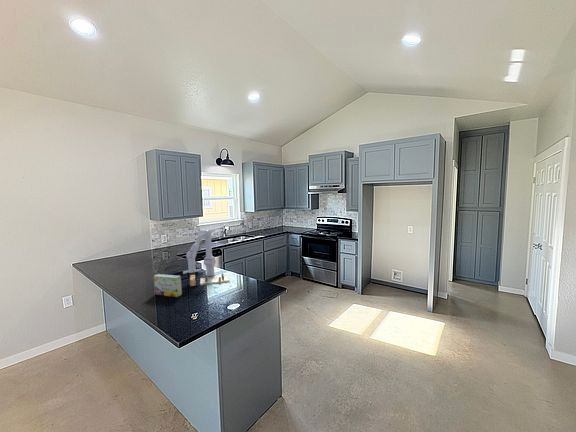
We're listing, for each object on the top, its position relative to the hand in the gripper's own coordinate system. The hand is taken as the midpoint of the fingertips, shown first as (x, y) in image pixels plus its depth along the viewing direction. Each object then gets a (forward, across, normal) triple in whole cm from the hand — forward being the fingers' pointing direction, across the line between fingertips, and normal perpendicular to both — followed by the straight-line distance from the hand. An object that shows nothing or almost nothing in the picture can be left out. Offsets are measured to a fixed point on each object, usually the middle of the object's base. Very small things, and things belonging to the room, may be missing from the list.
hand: (192, 280), depth 224 cm
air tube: (+1, 0, 0) cm, 1 cm away
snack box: (+3, -17, -20) cm, 26 cm away
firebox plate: (+2, +18, 0) cm, 18 cm away
